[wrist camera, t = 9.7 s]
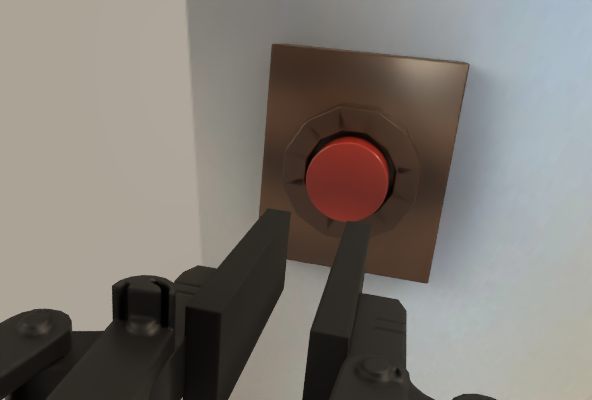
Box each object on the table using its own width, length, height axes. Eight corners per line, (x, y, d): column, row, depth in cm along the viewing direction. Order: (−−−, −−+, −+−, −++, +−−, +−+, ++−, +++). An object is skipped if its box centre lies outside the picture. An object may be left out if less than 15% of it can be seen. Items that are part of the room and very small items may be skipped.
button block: (281, 43, 29) (262, 43, 25) (465, 62, 27) (474, 65, 24) (265, 241, 33) (247, 266, 29) (426, 268, 31) (429, 299, 27)
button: (315, 131, 26) (309, 137, 25) (394, 141, 26) (394, 148, 24) (308, 205, 28) (301, 215, 26) (383, 216, 27) (381, 228, 25)
